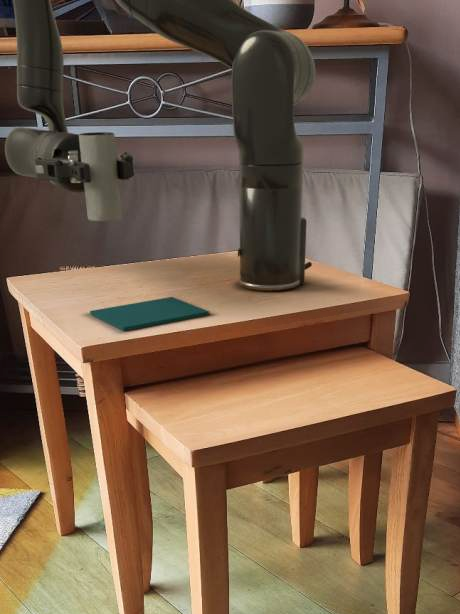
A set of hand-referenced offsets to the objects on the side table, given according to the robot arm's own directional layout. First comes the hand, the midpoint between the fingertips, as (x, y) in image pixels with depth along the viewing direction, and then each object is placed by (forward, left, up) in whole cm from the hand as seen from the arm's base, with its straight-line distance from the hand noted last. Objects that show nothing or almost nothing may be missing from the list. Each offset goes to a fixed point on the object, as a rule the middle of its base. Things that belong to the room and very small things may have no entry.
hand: (107, 172), depth 95 cm
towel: (-2, +5, -18) cm, 18 cm away
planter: (0, -3, -6) cm, 7 cm away
